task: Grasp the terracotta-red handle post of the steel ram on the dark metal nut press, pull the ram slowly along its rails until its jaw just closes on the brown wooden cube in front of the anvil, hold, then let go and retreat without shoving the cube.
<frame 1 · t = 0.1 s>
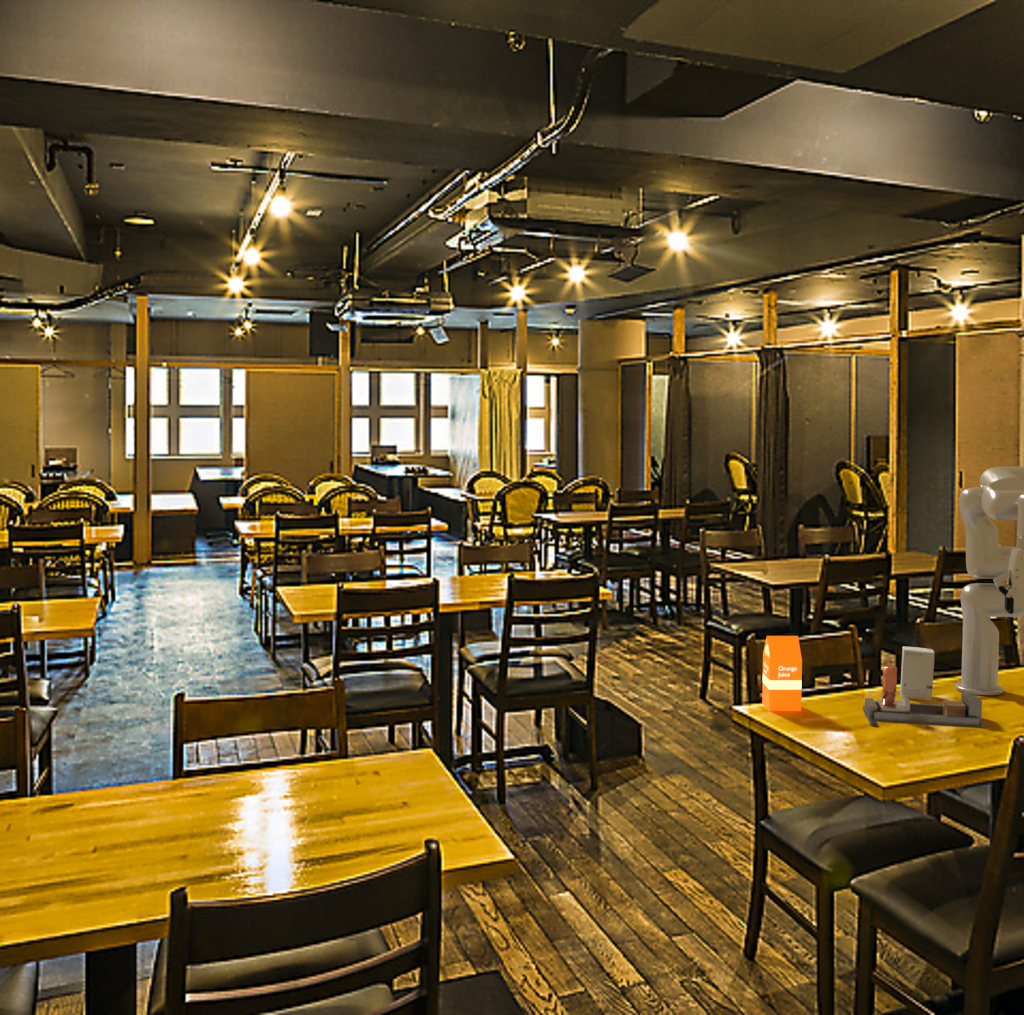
brown wooden cube: (953, 718, 240), point 1 cm above the table, touching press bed
skincare box: (916, 701, 261), on the table
orange juice: (781, 707, 256), on the table
ram: (893, 690, 243), point 8 cm above the table, slide at 0.0 cm
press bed: (923, 720, 242), on the table
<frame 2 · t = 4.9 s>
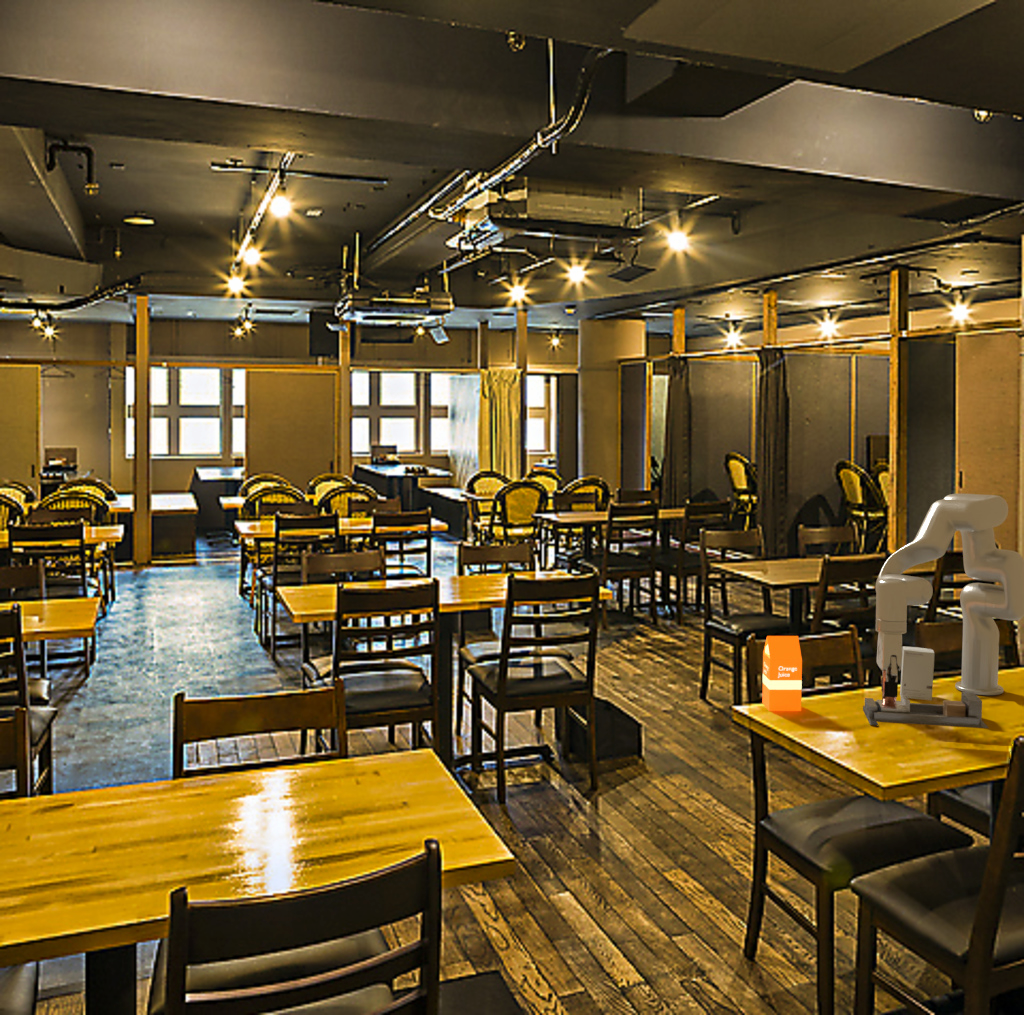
hand: (889, 693, 244), 7 cm above the table, tool pointing down, fingers closed on ram, 3 cm apart
ram: (893, 690, 243), point 8 cm above the table, slide at 0.0 cm, touching gripper
everything else where it was.
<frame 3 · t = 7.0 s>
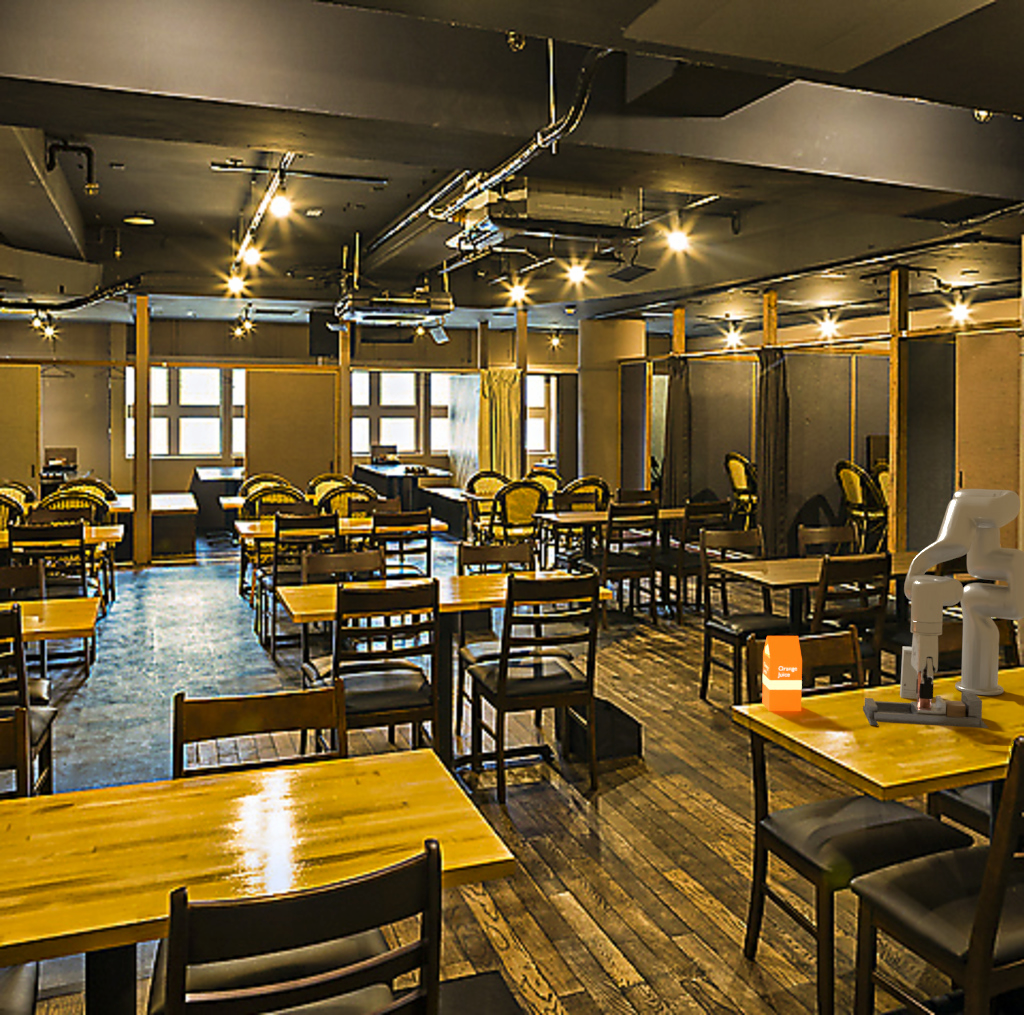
hand: (924, 695, 242), 7 cm above the table, tool pointing down, fingers closed on ram, 3 cm apart
ram: (928, 692, 241), point 8 cm above the table, slide at 8.6 cm, touching gripper
everything else where it was.
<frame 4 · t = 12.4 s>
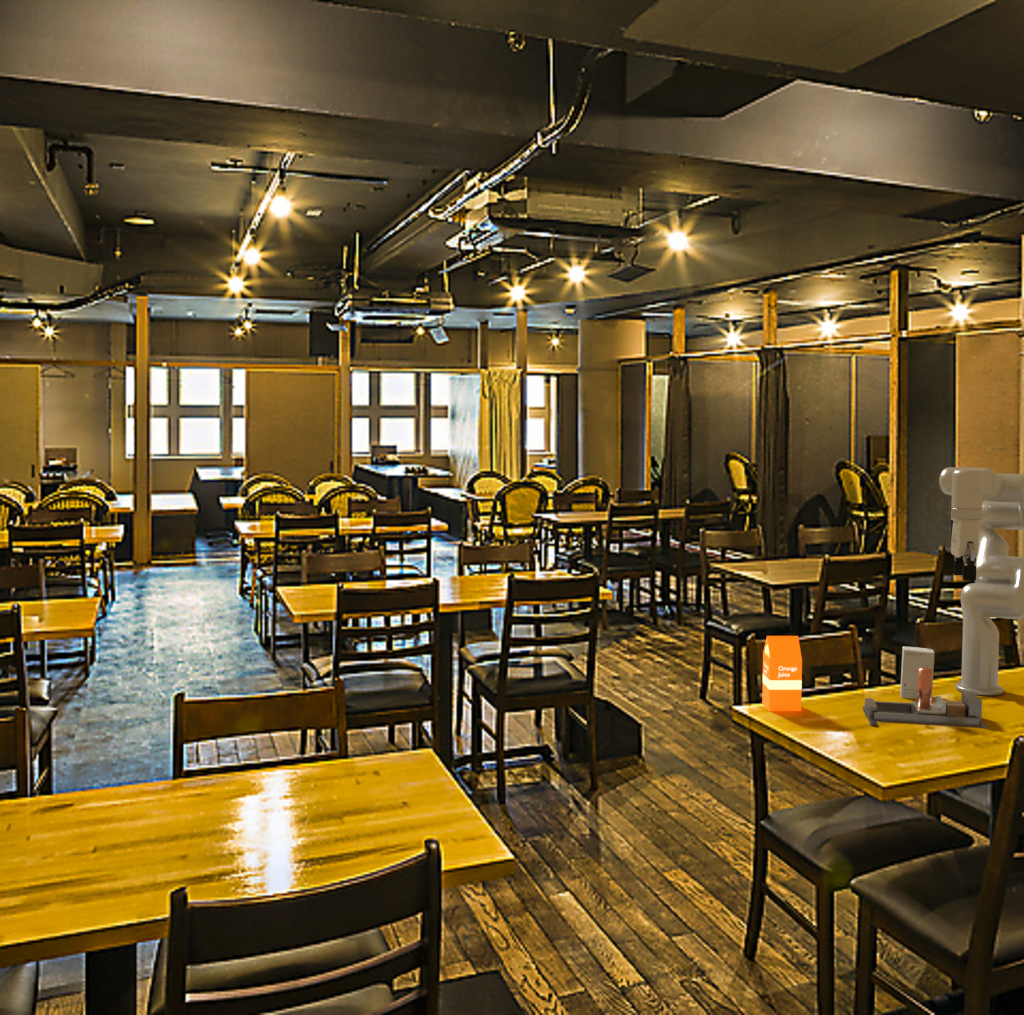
hand: (964, 577, 249), 36 cm above the table, tool pointing down, fingers open, 9 cm apart
ram: (928, 692, 241), point 8 cm above the table, slide at 8.7 cm
everything else where it was.
at the end: ram slide at 8.7 cm; brown wooden cube moved 0.1 cm from its start; the gripper is holding nothing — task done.
